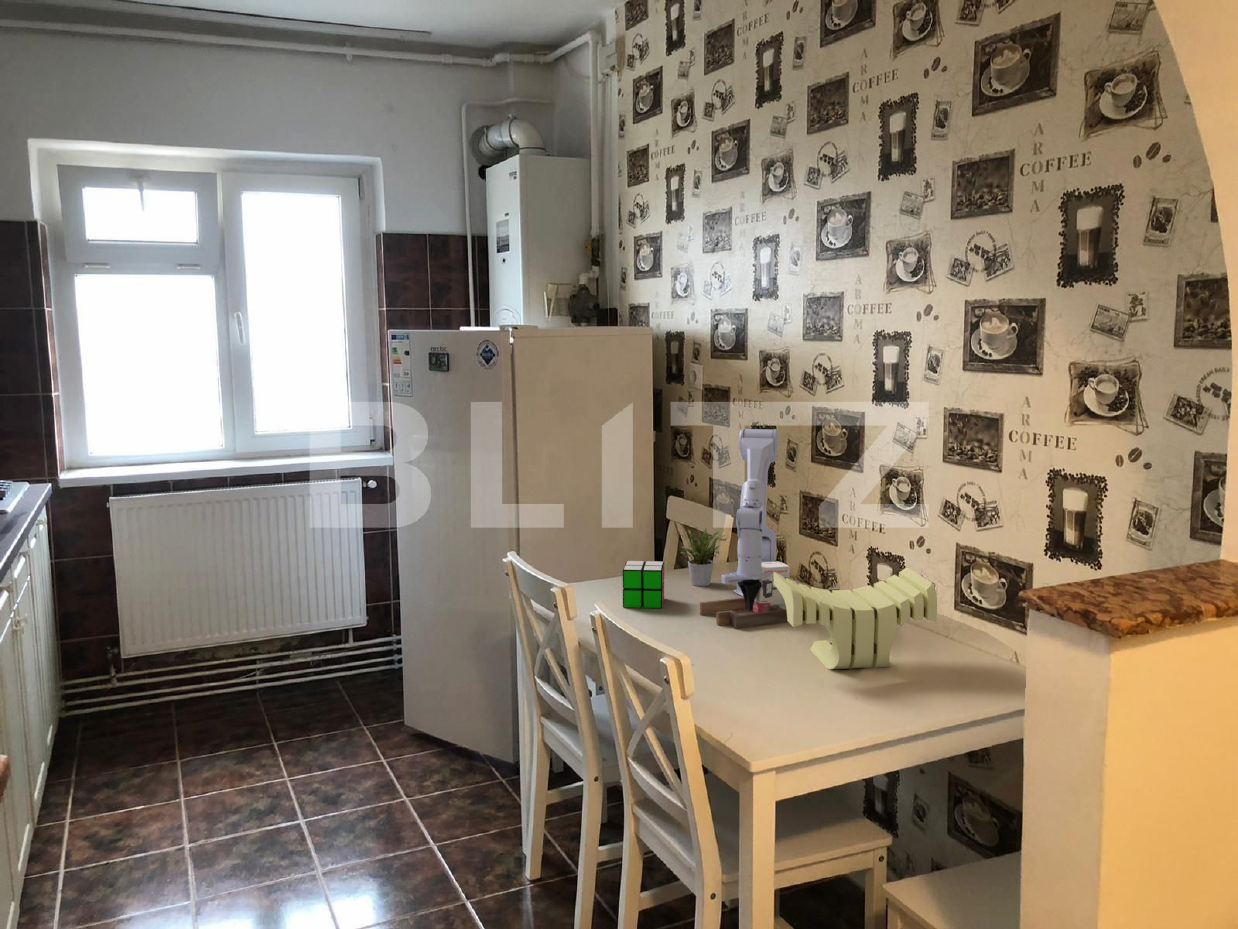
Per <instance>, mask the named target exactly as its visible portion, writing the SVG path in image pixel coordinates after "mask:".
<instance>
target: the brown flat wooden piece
mask: <svg viewBox="0 0 1238 929" xmlns="http://www.w3.org/2000/svg"><path fill="white" fill-rule="evenodd" d="M740 611H742V612H743V611H748V610H747V609H746V607H745V600H744V597H743V596H742V597H735V598H725V599H717V600H710V601H702V602H699V615H701V616H707V615H716V625H717V626H724V625H726V626H727V625H730V626H732V627H733V629H734V630H739V629H747V628H753V627H754V628H755V627H762V626H768V625H769V626H770V625H776V624H785V623H789V622H788V621H787V609H782V608H780V607H779V605H771V606H768V611H766V612H758V613H756V612H752V613H743V614H738V612H740ZM736 612H737V613H736Z"/></svg>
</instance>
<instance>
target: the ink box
mask: <svg viewBox="0 0 1238 929" xmlns="http://www.w3.org/2000/svg"><path fill="white" fill-rule="evenodd" d="M774 572H776V573H778V574H779V575H781V576H783V577H784V578H785V579H786V578H788V579H790V575H791V566H790V565H787V564H786V563H784V562H782V561H777V560H776V561H774V562H762V574H766V573H771V576H767V577H763V578H761V579H759V582H761V583H762V587H761V588H760V590H759V592H758V593H757V596H756V598H755V601H754V604H753V611H752V612H753V613H758V612H766V611H768V606H771V605H779V607H780V608H782V609H786V604H785V601H784V598H783V596H782V594H781V593H780V591H779V590H778V589H777V587H776V586H775V585H774V584H773V583H774Z"/></svg>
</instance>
